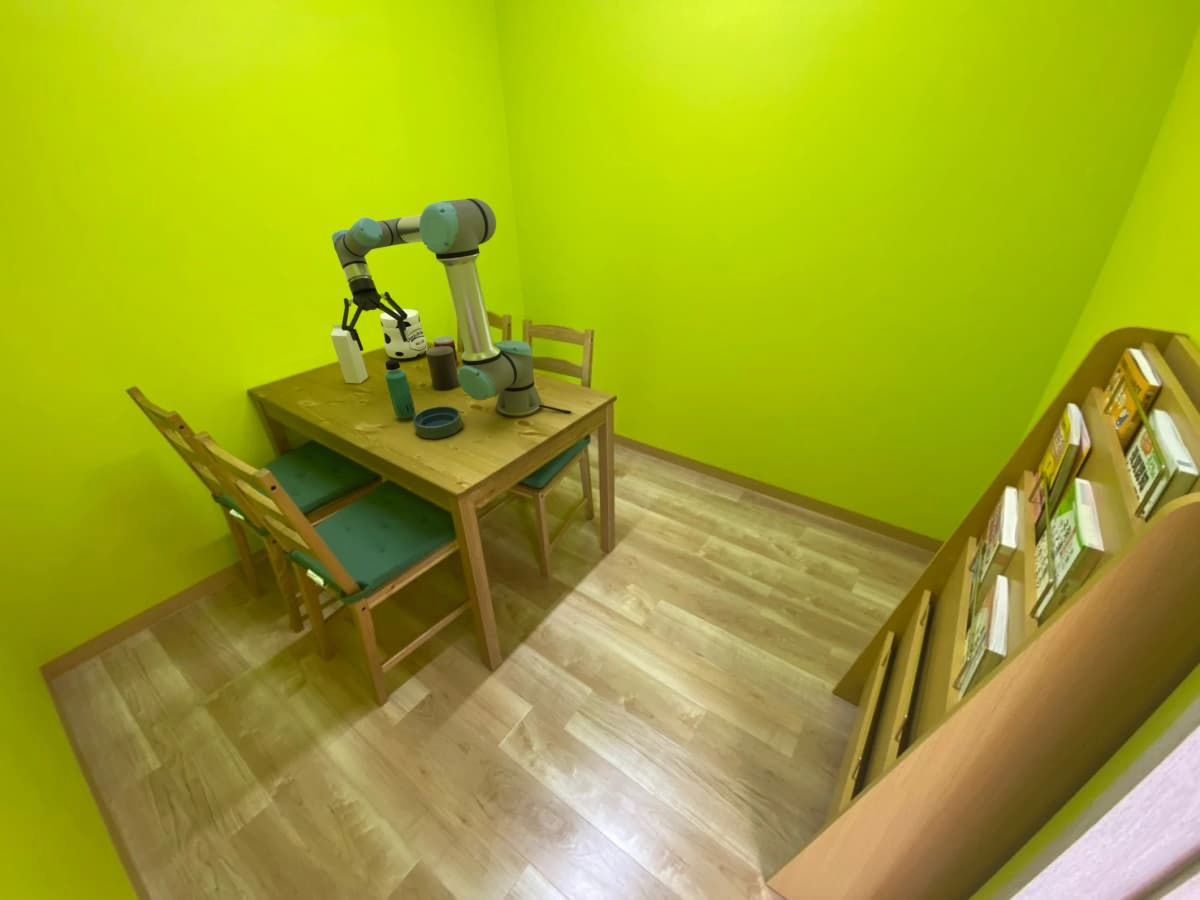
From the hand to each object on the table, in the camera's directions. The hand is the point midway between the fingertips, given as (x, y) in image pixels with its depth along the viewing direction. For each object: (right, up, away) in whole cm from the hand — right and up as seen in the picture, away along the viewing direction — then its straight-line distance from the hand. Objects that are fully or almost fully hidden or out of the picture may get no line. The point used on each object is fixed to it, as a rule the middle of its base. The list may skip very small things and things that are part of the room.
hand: (384, 345), depth 155 cm
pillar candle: (+12, -9, +27) cm, 31 cm away
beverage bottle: (+6, -23, +4) cm, 24 cm away
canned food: (+7, +1, +43) cm, 44 cm away
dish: (+19, -27, -2) cm, 33 cm away
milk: (-24, -7, +31) cm, 40 cm away
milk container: (-13, +7, +53) cm, 55 cm away
